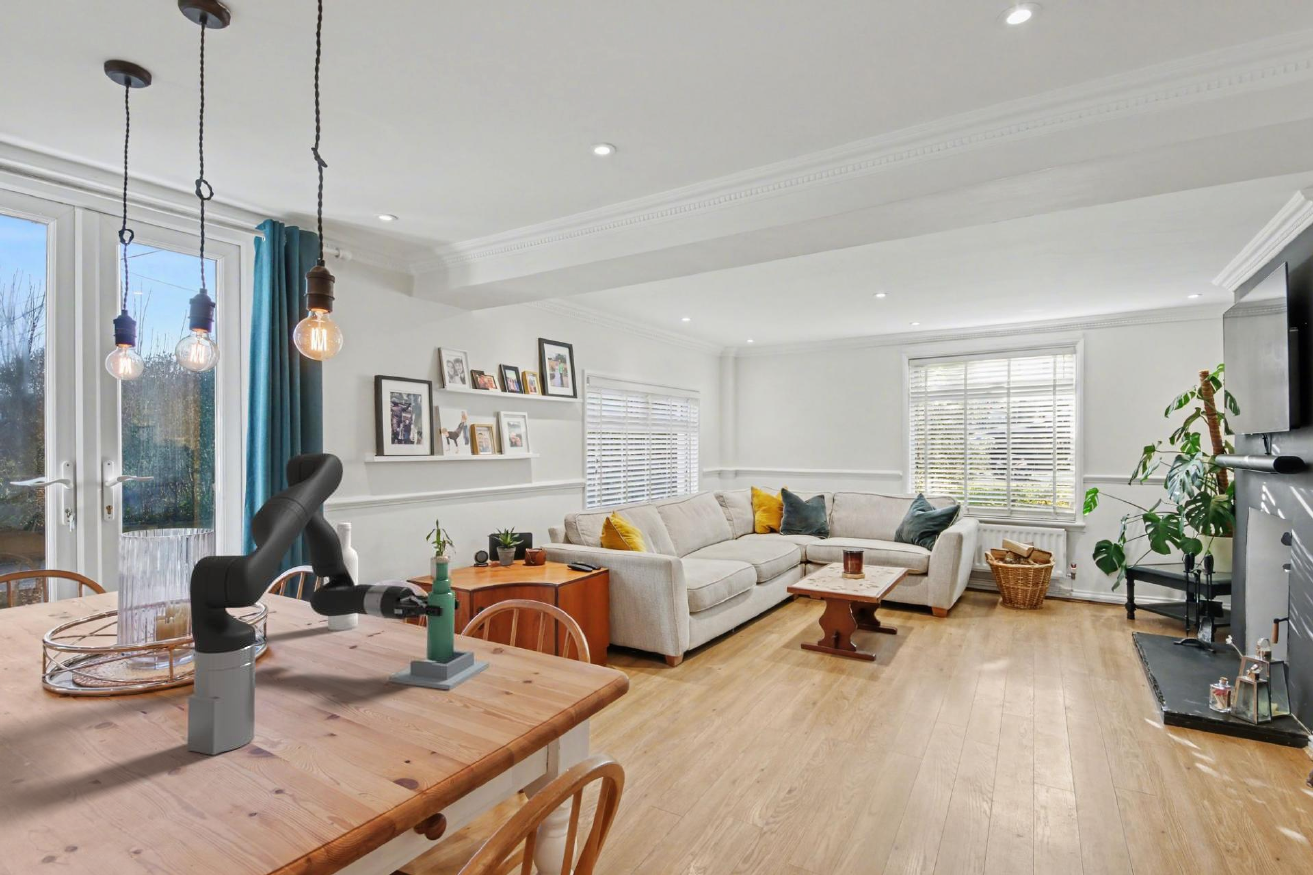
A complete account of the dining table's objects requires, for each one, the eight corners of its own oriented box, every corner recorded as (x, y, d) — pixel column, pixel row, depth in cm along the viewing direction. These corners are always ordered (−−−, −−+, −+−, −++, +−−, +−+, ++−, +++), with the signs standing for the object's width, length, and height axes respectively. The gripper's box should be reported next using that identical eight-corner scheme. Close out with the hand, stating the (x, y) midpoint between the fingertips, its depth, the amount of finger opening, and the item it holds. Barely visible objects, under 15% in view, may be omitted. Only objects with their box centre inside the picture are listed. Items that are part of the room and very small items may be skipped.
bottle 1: (363, 624, 201) (364, 521, 201) (348, 631, 193) (349, 525, 193) (337, 623, 202) (338, 521, 202) (321, 630, 194) (323, 524, 194)
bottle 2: (443, 662, 155) (445, 560, 155) (421, 659, 157) (423, 558, 157) (458, 654, 161) (460, 555, 161) (436, 651, 163) (438, 554, 163)
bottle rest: (450, 689, 149) (450, 671, 149) (388, 681, 153) (388, 663, 153) (489, 666, 164) (489, 650, 164) (431, 660, 169) (432, 643, 169)
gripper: (368, 592, 156) (431, 598, 151) (409, 580, 170) (468, 585, 165) (368, 625, 156) (431, 632, 151) (408, 610, 170) (467, 616, 165)
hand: (450, 608), depth 158 cm, fingers closed on bottle 2, 6 cm apart
